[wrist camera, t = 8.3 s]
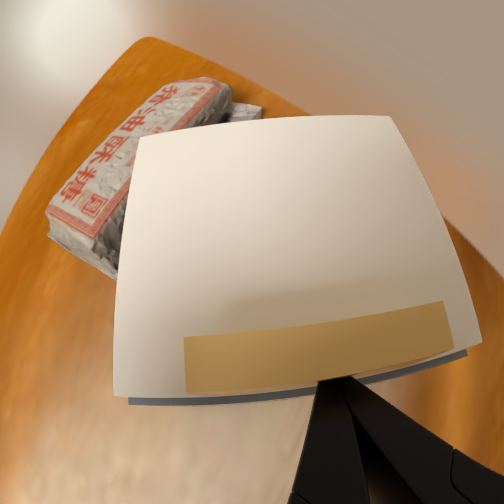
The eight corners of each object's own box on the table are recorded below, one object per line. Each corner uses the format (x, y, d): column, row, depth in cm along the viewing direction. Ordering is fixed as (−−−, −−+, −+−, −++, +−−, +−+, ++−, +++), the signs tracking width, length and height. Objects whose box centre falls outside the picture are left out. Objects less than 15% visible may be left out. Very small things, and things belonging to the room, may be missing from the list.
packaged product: (107, 266, 14) (19, 208, 17) (142, 299, 19) (53, 242, 21) (263, 75, 21) (164, 62, 24) (265, 120, 26) (175, 101, 28)
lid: (470, 347, 9) (528, 320, 6) (124, 397, 9) (67, 388, 6) (386, 127, 14) (401, 75, 11) (144, 149, 14) (123, 95, 11)
